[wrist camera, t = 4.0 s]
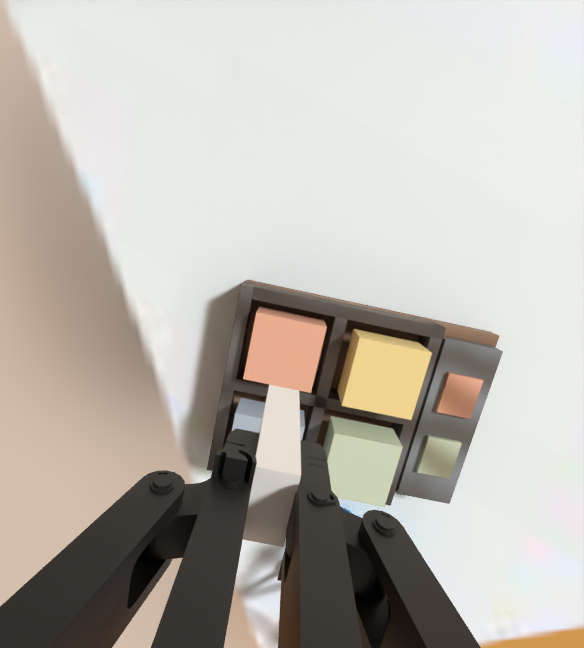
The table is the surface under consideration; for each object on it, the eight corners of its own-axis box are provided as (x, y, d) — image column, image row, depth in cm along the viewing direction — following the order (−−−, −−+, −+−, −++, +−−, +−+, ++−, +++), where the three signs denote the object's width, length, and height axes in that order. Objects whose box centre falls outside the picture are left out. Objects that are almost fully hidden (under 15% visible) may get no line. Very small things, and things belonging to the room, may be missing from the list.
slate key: (240, 397, 31) (235, 413, 28) (303, 410, 32) (304, 427, 29) (229, 454, 32) (222, 475, 30) (290, 466, 33) (290, 488, 30)
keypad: (247, 279, 33) (241, 284, 29) (490, 331, 34) (516, 343, 30) (216, 445, 36) (206, 469, 32) (436, 489, 37) (453, 517, 33)
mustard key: (353, 328, 30) (359, 337, 27) (418, 342, 30) (431, 352, 27) (337, 390, 31) (341, 405, 28) (400, 403, 31) (411, 420, 28)
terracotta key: (260, 305, 31) (256, 312, 28) (323, 319, 31) (326, 327, 28) (247, 366, 32) (243, 379, 29) (309, 379, 32) (310, 393, 29)
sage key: (330, 416, 32) (334, 433, 29) (392, 428, 32) (402, 447, 29) (316, 471, 33) (318, 494, 30) (376, 483, 33) (384, 506, 30)
